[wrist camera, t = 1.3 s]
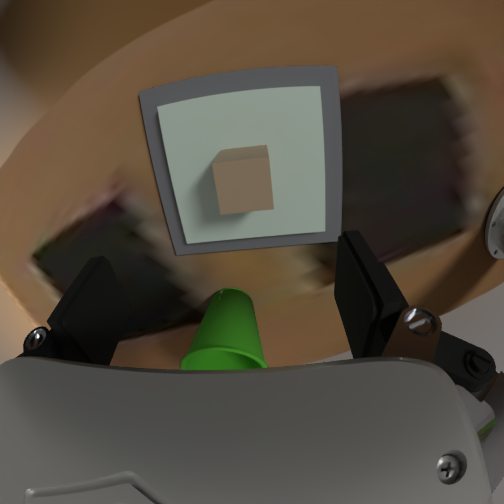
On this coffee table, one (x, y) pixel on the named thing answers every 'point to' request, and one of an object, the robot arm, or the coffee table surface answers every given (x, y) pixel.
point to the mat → (242, 82)
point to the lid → (247, 163)
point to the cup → (226, 335)
